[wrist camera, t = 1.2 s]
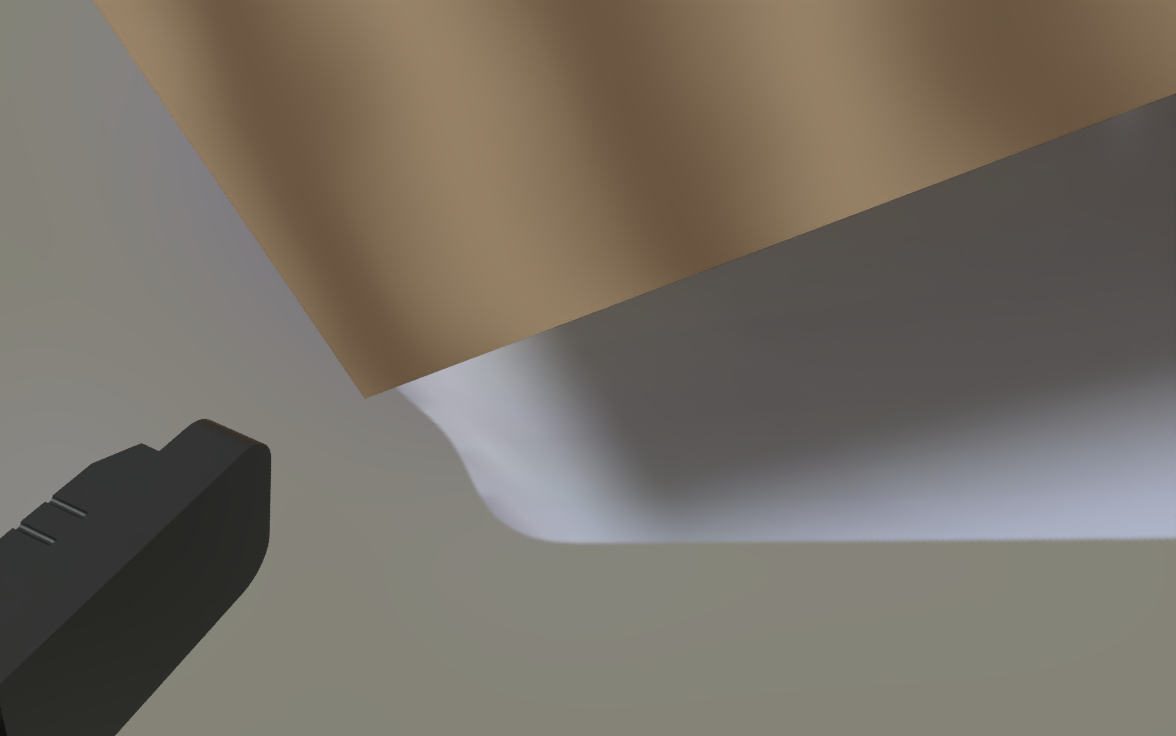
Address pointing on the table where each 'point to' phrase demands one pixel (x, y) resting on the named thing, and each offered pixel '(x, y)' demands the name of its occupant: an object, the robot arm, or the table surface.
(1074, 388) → the table surface
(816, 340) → the table surface
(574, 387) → the table surface
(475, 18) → the slatted wooden stool
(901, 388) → the table surface
